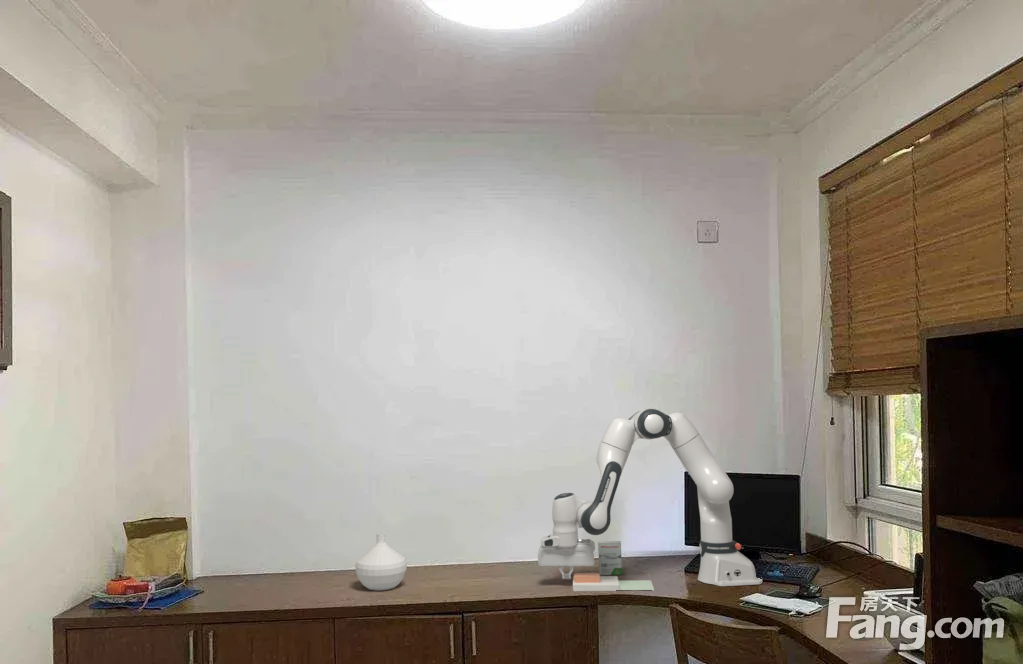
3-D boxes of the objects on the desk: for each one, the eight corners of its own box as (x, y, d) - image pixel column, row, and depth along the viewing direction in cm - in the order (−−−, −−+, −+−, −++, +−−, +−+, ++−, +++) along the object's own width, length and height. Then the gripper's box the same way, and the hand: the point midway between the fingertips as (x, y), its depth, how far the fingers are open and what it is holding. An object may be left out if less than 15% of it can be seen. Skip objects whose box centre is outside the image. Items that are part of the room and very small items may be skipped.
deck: (617, 581, 313) (617, 576, 313) (619, 590, 300) (619, 585, 300) (573, 581, 314) (572, 576, 314) (573, 591, 301) (572, 585, 301)
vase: (380, 578, 325) (380, 527, 326) (417, 584, 315) (416, 531, 316) (344, 589, 310) (344, 535, 311) (382, 596, 300) (381, 540, 301)
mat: (651, 581, 312) (650, 580, 312) (654, 590, 299) (654, 589, 299) (617, 581, 313) (617, 580, 313) (619, 590, 300) (619, 589, 300)
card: (599, 578, 310) (599, 572, 310) (600, 582, 304) (599, 576, 304) (574, 578, 311) (574, 573, 311) (574, 582, 305) (574, 577, 305)
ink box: (622, 571, 328) (621, 540, 328) (622, 575, 323) (621, 542, 323) (598, 571, 329) (598, 540, 329) (598, 575, 324) (598, 543, 324)
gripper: (594, 537, 311) (595, 576, 310) (537, 538, 312) (538, 576, 312) (594, 540, 305) (596, 580, 304) (536, 541, 306) (537, 581, 306)
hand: (566, 578), depth 308 cm, fingers closed
